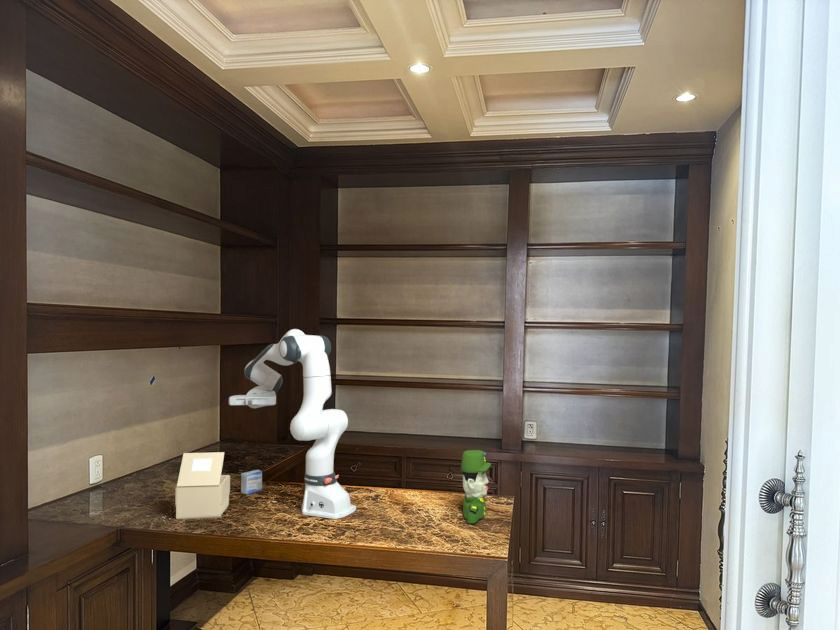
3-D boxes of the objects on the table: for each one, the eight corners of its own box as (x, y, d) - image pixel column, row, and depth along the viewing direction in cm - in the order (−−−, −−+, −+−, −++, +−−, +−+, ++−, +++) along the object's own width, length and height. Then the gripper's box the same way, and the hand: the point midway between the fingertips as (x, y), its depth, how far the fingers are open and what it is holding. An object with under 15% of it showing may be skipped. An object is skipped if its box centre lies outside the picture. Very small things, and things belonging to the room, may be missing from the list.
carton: (187, 505, 213) (187, 476, 213) (230, 504, 215) (230, 474, 215) (174, 519, 198) (175, 487, 198) (221, 517, 200) (221, 485, 200)
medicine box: (246, 494, 227) (247, 474, 227) (240, 492, 229) (240, 473, 229) (262, 490, 233) (262, 470, 233) (256, 488, 236) (256, 469, 236)
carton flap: (184, 453, 206) (183, 453, 206) (224, 452, 208) (224, 452, 207) (177, 486, 199) (176, 486, 198) (219, 485, 200) (218, 484, 200)
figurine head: (488, 526, 193) (488, 458, 193) (456, 523, 195) (457, 456, 196) (492, 506, 214) (493, 445, 214) (464, 504, 217) (464, 443, 217)
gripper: (232, 391, 238) (224, 395, 225) (278, 391, 241) (273, 395, 227) (232, 405, 238) (224, 410, 224) (278, 404, 241) (273, 409, 227)
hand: (249, 402), depth 226 cm, fingers closed
